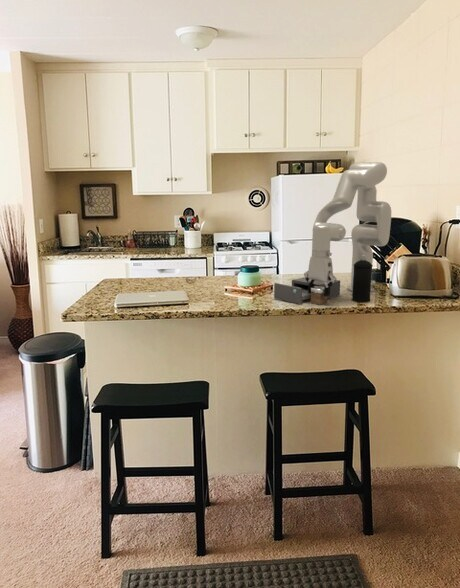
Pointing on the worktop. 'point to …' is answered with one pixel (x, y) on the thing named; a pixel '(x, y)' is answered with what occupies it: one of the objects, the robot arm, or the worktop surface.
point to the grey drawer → (290, 293)
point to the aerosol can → (362, 280)
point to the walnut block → (318, 298)
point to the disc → (317, 289)
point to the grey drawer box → (303, 284)
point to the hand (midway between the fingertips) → (318, 294)
